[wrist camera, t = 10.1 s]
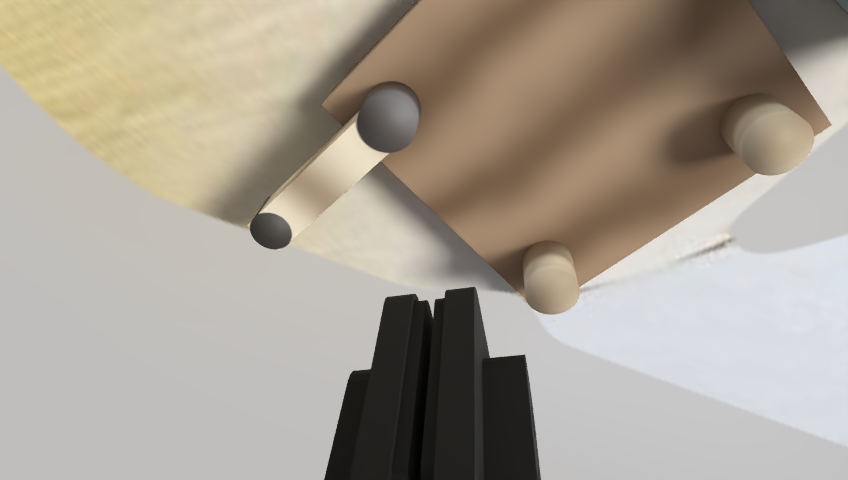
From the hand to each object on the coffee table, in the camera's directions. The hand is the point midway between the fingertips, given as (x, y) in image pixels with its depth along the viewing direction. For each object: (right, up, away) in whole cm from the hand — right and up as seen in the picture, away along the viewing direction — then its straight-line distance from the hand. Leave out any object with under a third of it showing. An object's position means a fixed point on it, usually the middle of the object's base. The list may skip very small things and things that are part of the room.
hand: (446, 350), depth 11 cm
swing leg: (-6, +7, +24) cm, 26 cm away
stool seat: (+8, +11, +24) cm, 27 cm away
